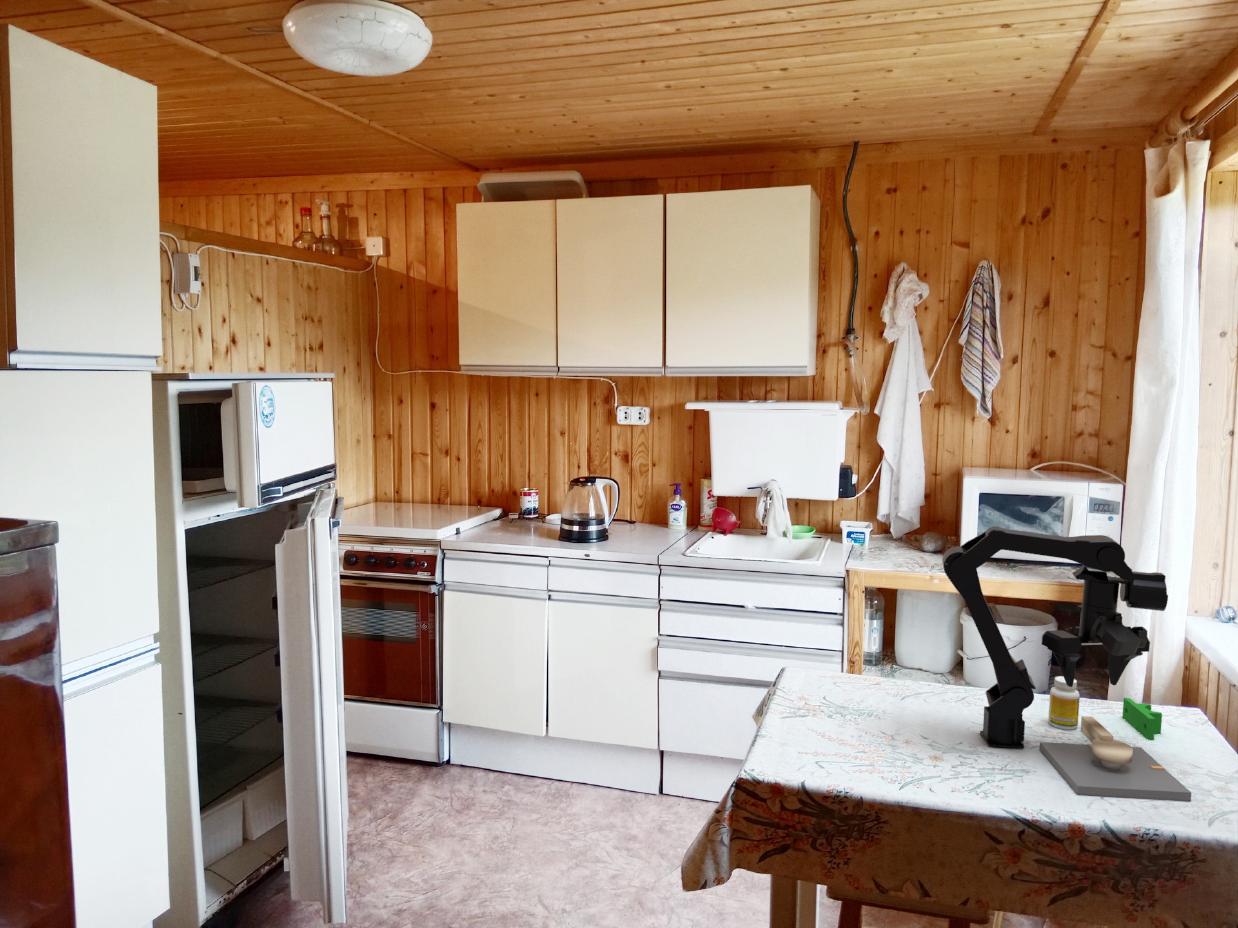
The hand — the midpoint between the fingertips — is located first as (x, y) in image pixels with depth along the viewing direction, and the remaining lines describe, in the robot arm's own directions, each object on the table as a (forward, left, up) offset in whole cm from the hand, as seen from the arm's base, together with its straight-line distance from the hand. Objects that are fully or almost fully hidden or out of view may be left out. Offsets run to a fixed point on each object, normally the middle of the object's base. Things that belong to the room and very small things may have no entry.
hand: (1091, 685), depth 164 cm
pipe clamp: (+16, +13, -13) cm, 25 cm away
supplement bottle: (0, +13, -13) cm, 18 cm away
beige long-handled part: (0, -5, -10) cm, 11 cm away
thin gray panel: (0, -9, -13) cm, 16 cm away
